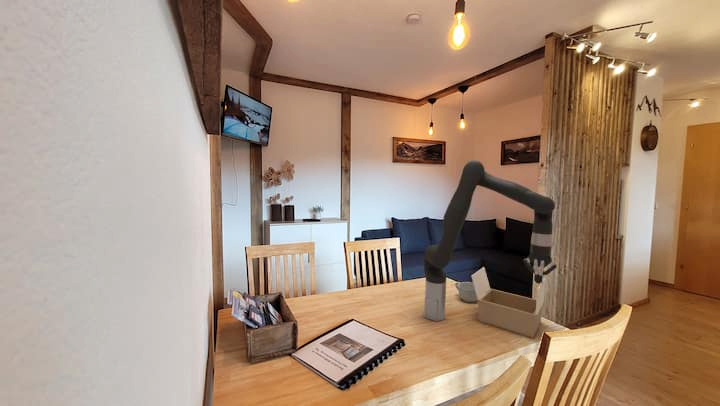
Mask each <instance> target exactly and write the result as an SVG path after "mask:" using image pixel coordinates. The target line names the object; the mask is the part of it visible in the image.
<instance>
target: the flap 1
mask: <svg viewBox="0 0 720 406" xmlns="http://www.w3.org/2000/svg"><path fill="white" fill-rule="evenodd" d="M470 277H471V280H472V283H473V284H474V288H475V291H476V295H477V299H478V300H479V299H480V298H481V297H483V296H484V295H485V294H486V293H487V292H488V291H489V290H490V289H491V286H490V283H489V279H488V277H487V271H486V268H485V267H484V266H483V267H482V268H480V269H479V270H477V271H476V272H475V273H473V274H471V276H470Z"/></svg>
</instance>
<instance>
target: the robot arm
mask: <svg viewBox="0 0 720 406" xmlns="http://www.w3.org/2000/svg"><path fill="white" fill-rule="evenodd" d="M477 186H479V187H482V188H485V189H488V190H491V191H494V192H496V193H498V194H500V195H502V196H504V197H506V198H507V199H510V200H512V201H514V202H517V203H518V204H522V205H524V206H526V207H527V208H529V209H531V210H533V217H534V219H533V223H532V234H531V238H530V250H529V251H530V253H529V255H528V257H527V258H524V259H523V260H522V261H523V263H524V265H525V266H526V268H527V269H528V270H529V272H530V273H533V275H534V279H533V280H534V282H535V284H539V285H540V283H541V282H542V280H543V279H544V276H548V275H549V274H550V273H552V272H553V271H554V270H555V269H556V268H557V267H558V264H557V263H554V261H553V259H552V246H553V226H554V223H553V214H554V213H553V212H554V210H555V208H556V203H555V202H554V200H553V199H552V198H550V197H549V196H545V195H543V194H540V193H538V192H535V191H533V190H532V189H530V188H528V187H525V186H523V185H521V184H519V183H517V182H515V181H511V180H507V179H503V178H499V177H497V176H494V175H492V174H490V173H489V172H487V171H485V166H484V164H483V163H482V162H481V161H480V160H471V161H469V162H467V163H466V164H465V165H464V166H463V169H462V173H461V176H460V179H459V182H458V185H457V187H456V189H455V192H454V193H453V196H452V197H451V199H450V201H449V203H448V205H447V207H446V210H445V213H444V214H443V218H442V219H443V220H442V234H441V235H442V236H441V239H440V242H439V243H438V245H437V244H431V245H429V246H428V247H426V249H425V250H424V255H423V257H424V259H423V265H424V266H423V269H424V271H423V272H424V275H425V287H424V288H425V292H424V307H423V309H424V310H423V311H424V312H423V314H424V315H423V317H424V318H426V319H428V320H431V321H433V322H438V321H443V320H444V319H446V294H447V293H446V292H447V275H446V273H445V271H444V268H447V266H448V265H449V264H450V263H451V259H452V256H453V253H454V249H455V247H456V245H457V244H456V243H457V240H458V237H459V235H460V232H461V231H462V228H463V225H464V223H465V221H466V219H467V216H468V214H469V212H470V208H471V204H472V200H473V195H474V193H475V190H476V189H477ZM532 265H533V266H534V267H533V266H532ZM548 265H549V267H548V269H546V270H545V268H547V266H548Z"/></svg>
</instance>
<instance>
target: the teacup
mask: <svg viewBox="0 0 720 406" xmlns="http://www.w3.org/2000/svg"><path fill="white" fill-rule="evenodd" d="M454 285H455V289H456V290H457V291H458V296H459V298H460V299H461V300H462V301H464V302H466V303H474V302H476V301H479V299H477V295H476V291H475V288H474V284H473V281H472V282H471V281H464V282H461V281H457V282H455V284H454Z"/></svg>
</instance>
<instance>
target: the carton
mask: <svg viewBox="0 0 720 406" xmlns="http://www.w3.org/2000/svg"><path fill="white" fill-rule="evenodd" d="M536 299H537V298H530V297H527V296H522V295H518V294H514V293H510V292H507V291H506V292H505V291H501V290H497V289H494V288H490V289H489V290H488V291H487V292H486V293H485V294H484V295H483V296H482V297H481V298H480V299H478V306H477V307H478V311H477V323H478V322H479V323H482V324H485V325H488V326H492V327H495V328H497V329H500V330H504V331H508V332H510V333H514V334H517V335H519V336H523V337H527V338H529V339H533V340H534V339H535V337H536V334H537V331H538V330H539V328H540V326H541V323H542V315H543V314H542V313H543V305H542V306H541V308H540V310H539V312H538V314H537V315H536Z"/></svg>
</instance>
